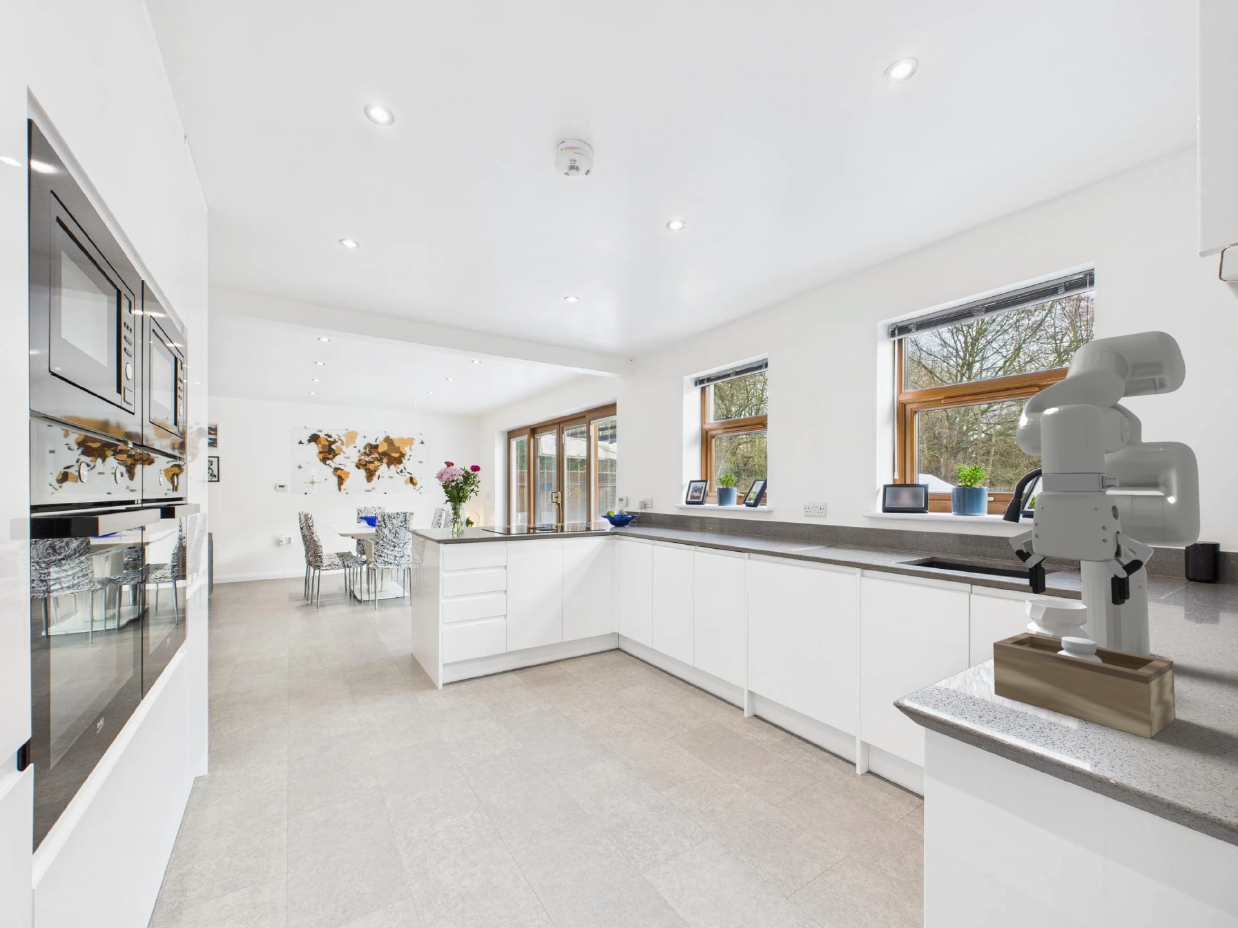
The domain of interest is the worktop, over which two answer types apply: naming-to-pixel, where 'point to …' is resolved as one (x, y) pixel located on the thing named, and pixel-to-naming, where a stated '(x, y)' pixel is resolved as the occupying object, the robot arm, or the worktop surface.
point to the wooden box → (1087, 683)
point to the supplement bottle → (1079, 648)
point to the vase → (1056, 618)
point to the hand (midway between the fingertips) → (1076, 597)
